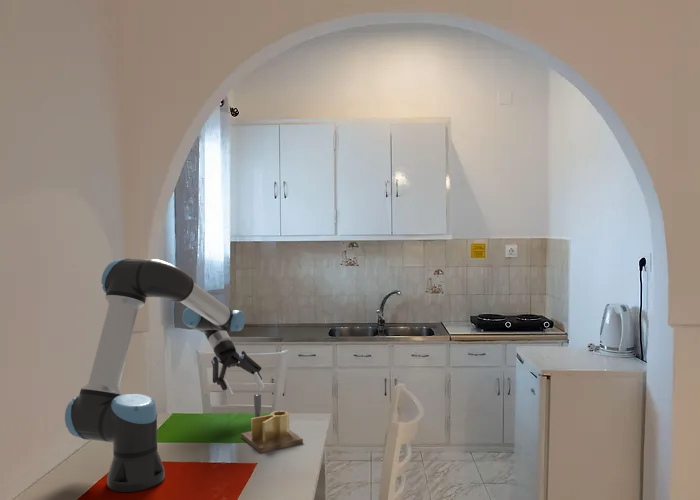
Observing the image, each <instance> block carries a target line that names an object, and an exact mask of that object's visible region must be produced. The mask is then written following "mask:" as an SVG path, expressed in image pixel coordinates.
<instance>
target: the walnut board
mask: <svg viewBox="0 0 700 500" xmlns="http://www.w3.org/2000/svg"><path fill="white" fill-rule="evenodd" d="M240 436H241V439H242V440H244V441H245V442H246V443H248V444H249V445H250V446H251V447H252V448H253V449H254V450H256V451H257V452H258V453H259V454H261V453H265V452H268V451H269V452H270V451H273V450H278V449H283V448H288V447H289V448H290V447H292V446H299V445H302V444H303V443H304V439H303V437H301V436H299V435H298V434H296V433H295V432H293V431H292V430H291V429H289V435H288V436H285V437H276V438H274V439H273V440H271V441H270V442H268V443H267V444H263V438H262V439H257V440H251V430H250V431H246V432H245V431H244V432H241V435H240Z"/></svg>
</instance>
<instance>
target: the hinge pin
mask: <svg viewBox="0 0 700 500" xmlns="http://www.w3.org/2000/svg"><path fill="white" fill-rule="evenodd" d="M253 410H254V411H253V414H254V417H253V418H256V417H261V416H262V394H261V393H256V394H254V395H253Z"/></svg>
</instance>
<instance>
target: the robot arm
mask: <svg viewBox="0 0 700 500" xmlns="http://www.w3.org/2000/svg"><path fill="white" fill-rule="evenodd" d="M100 283H101V285H102V288H101V289H102V290H103V292H104V293H105V300H106V301H107V303H108V306H107V311H106V314H105V318H104V322H103V325H102V326H103V327H102V329H101V334H100V337H99V341H98V344H97V349H96V352H95V356H94V359H93V363H92V368H91V371H90V374H89V378H88V383H87V384H86V385H84V386H82V387H81V388H80V391H79V395H77V396H74V397H73V398H72V399H71V401H69V402H68V404H67V406H66V408H65V411H64V423H65V427H66V428H67V430H68V432H69V434H71V435H72V436H73V437H76V438H79V439H83V440H93V441H99V442H106V443H107V442H108V443H112V447H113V448H112V451H113V457H112V460H111V463H110V467H109V470H108V473H107V478H106V481H107V483H106V484H107V487H108V488H109V489H110V490H111V491H114V492H121V493H131V492H139V491H143V490H148V489H150V488H153V487H156V486H158V485H159V484H160V483H162V482H163V481H164V479H165V477H166V475H165V467H164V465H163V464H164V463H163V461H162V459H161V456H160V454H159V451H158V412H157V404H156V401H155V400H154V399H153V398H152V397H150V396H148V395H145V394H140V393H133V394H130V393H126V394H123V393H122V391H121V389H120V385H121V381H122V377H123V373H124V369H125V364H126V360H127V356H128V352H129V348H130V344H131V339H132V338H133V337H132V336H133V332H134V328H135V324H136V319H137V315H138V311H139V310H140V309H141V308H143V307H144V306H145V304H146V301H147V298H163V299H167V300H170V301H171V302H173V303H181V304H183V306H185V307H186V308H185V309H184V310H183V312H182V316H181V321H182V323H183V324H184V325H185V326H187V327H188V328H189V329H193V330H195V331H199V332H201V333H203V334H204V335H205V337H206V339H207V342H208V343H209V344H210V346H211V348H212V350H213V353H214V355H215V356H213V358H212V360H211V365H212V383H213V384H216V385H218V386H220V388H221V389H222V391H224V392H225V394H226V397H227V398H228V399H229V400H230V399H232V398H233V396H234V392H233V390H232V387H231V385H230V383H229V382H228V379H226V378H225V375H226V372H227V368H228V369H229V368H232V367H233V368H234V367H238V368H241V369H242V370H244V371H246V372H248V373H250V374H251V375H252V379H253V381H254V382H255V385H256V386H257V388H258V390H259V391H260V392H261V391H263V389H264V388H265V387H266V386H265V384H264V381H263V378H262V376H261V374H260V371H262V369H263V368H262V366H261V365H259V364H258V363H257V362H256V361H254V360H253V359H252V358H251V357H250V356H249V355H247V353H246V351H244V350H242V351H241V352H240V353H239V352H237V349H236V346H235V345H234V342H233V341H232V339H231V337H230V335H229V334H228V332H232V333H233V332H240V331H242V330H243V328H244V327H245V322H246V315H245V313H244V312H243V310H239V309H238V310H237V309H231V308H230V307H228V306H227V305H225V304H224V303H222V302H221V301H220V300H218V299H217V298H216V297H214V296H213V295H212V294H210V293H208V292H207V291H206V290H205V289H203V288H202V287H200V286H199V285H198V284H197V283H195V281H194V278H193V277H192V276H191V275H190V274H188V273H187V272H186V271H184V270H183V269H181V268H179V267H177V266H176V265H174V264H172V263H170V262H167V261H164V260H161V259H157V258H150V259H148V258H145V259H144V258H130V257H129V258H122V259H115V260H113V261H112V262H109V264H108V265H107V266H106V267H105V268H104V270H103V272H102V275H101V282H100ZM219 363H220V364H221V365H222V366H221V369H220V372H219V366H220V365H219Z"/></svg>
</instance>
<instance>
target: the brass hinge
mask: <svg viewBox="0 0 700 500" xmlns="http://www.w3.org/2000/svg"><path fill="white" fill-rule="evenodd" d="M289 430H290V412H288V411H286V410H274V411H271V412H270V414H266V415H261V417H256V418H254V417H252V418H250V431H251V440H257V439H262V438H263V444H267V443H268V442H270V441H271V440H273V439H274V438H276V437H285V436H288V435H289Z"/></svg>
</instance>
